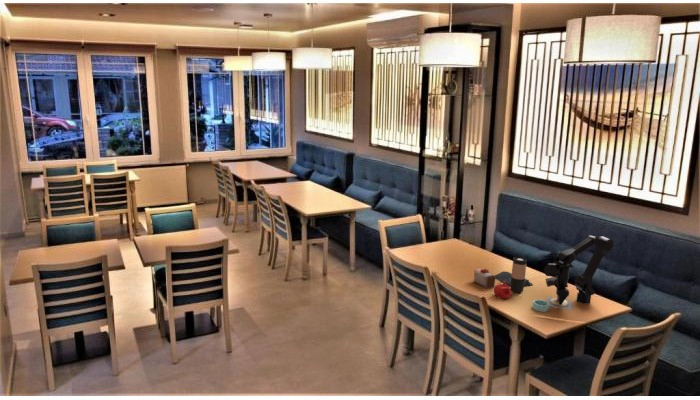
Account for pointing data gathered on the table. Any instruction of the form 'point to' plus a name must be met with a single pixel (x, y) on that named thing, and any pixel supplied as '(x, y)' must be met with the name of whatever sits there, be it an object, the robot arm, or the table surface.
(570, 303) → the mat
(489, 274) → the food item
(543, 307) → the bowl
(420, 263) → the table surface
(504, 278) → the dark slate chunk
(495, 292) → the pomegranate
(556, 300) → the lid
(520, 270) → the travel mug
